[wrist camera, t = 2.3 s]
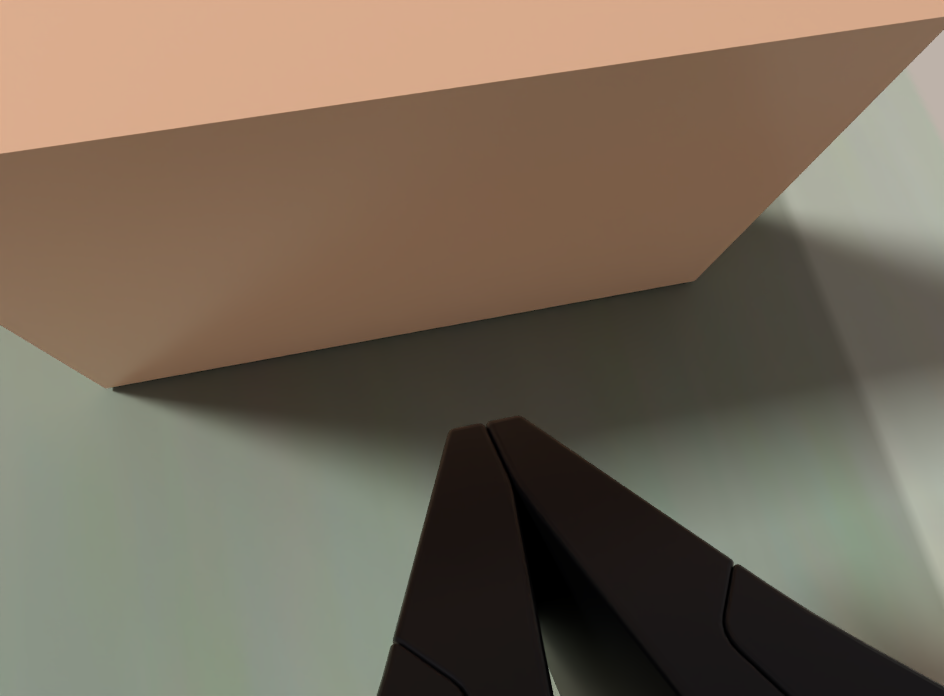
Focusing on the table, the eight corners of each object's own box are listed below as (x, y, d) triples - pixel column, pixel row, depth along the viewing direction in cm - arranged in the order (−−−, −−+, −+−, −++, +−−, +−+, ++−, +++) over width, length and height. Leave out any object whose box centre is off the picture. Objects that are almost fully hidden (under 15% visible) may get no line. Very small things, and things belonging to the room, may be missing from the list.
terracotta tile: (694, 281, 20) (958, 14, 10) (105, 388, 18) (-229, 186, 9) (667, 189, 21) (894, -143, 11) (94, 284, 19) (-230, -12, 9)
